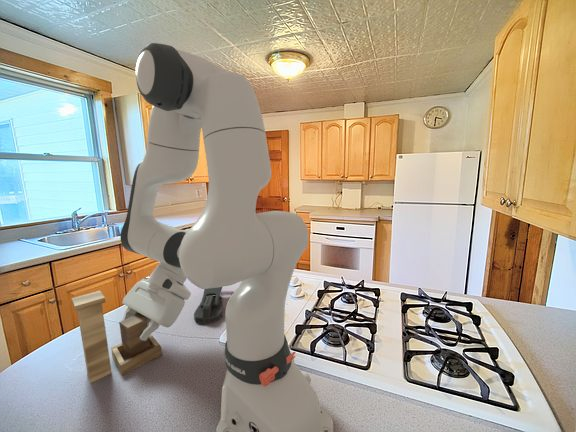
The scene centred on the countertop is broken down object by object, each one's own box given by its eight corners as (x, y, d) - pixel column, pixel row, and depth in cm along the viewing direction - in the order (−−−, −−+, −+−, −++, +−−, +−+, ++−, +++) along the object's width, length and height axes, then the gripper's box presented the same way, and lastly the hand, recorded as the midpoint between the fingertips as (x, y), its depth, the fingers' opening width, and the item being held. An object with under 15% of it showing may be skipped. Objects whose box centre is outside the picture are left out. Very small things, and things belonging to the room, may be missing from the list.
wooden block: (150, 353, 65) (146, 318, 64) (132, 364, 62) (127, 327, 60) (141, 347, 68) (137, 313, 66) (123, 357, 64) (119, 322, 62)
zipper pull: (227, 273, 102) (220, 303, 78) (228, 288, 104) (221, 322, 79) (205, 274, 101) (190, 305, 77) (206, 289, 102) (191, 325, 78)
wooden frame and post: (161, 354, 65) (154, 285, 62) (89, 391, 54) (76, 309, 51) (149, 339, 71) (142, 276, 68) (82, 369, 60) (70, 295, 57)
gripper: (137, 270, 73) (102, 316, 67) (178, 286, 62) (142, 344, 55) (153, 279, 77) (123, 323, 71) (195, 296, 66) (163, 350, 60)
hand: (131, 333), depth 63 cm, fingers open, 8 cm apart
